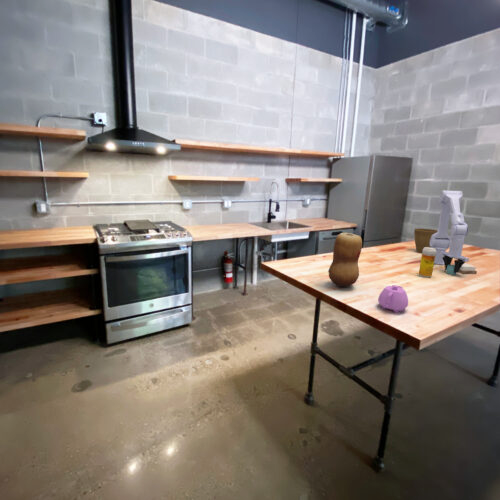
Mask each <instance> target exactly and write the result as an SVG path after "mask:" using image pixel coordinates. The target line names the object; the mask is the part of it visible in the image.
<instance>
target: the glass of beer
mask: <svg viewBox="0 0 500 500" xmlns="http://www.w3.org/2000/svg"><path fill="white" fill-rule="evenodd" d="M435 256H436V249H435V248H430V247H424V249H423V251H422V253H421V258H420V264H419V269H418V275H419V276H420V277H423V278H431V277H432V276H433V271H434V266H435V264H434V261H435Z"/></svg>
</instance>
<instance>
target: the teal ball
mask: <svg viewBox="0 0 500 500" xmlns="http://www.w3.org/2000/svg"><path fill="white" fill-rule="evenodd" d="M454 268H455V265H454V264H448V265H447V270H445V271H446V272H445V274H446V275H451V276H456V275H457V273H454Z"/></svg>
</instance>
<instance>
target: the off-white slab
mask: <svg viewBox="0 0 500 500" xmlns="http://www.w3.org/2000/svg"><path fill="white" fill-rule="evenodd" d="M453 265H455V262H454V263H453ZM460 270H462V271H476V266H474V265H471V264H468V263H467V262H465V263H464V264H463V265H462V266H461V268H460Z"/></svg>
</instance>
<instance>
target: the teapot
mask: <svg viewBox="0 0 500 500" xmlns="http://www.w3.org/2000/svg"><path fill="white" fill-rule="evenodd" d="M377 301H378V305H380V306H381V309H383V310H393V312H394V313H396V314H398V313H400V311H404V310H405V309H406V308H408V306H409V297H408V295H407V292H406V290H405V289H404V288H403V286H401V285H397V284H396V285H395V284H393V285H386V286H385V288H383V289H382V290H381V292H380V294H379V296H378V300H377Z"/></svg>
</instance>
